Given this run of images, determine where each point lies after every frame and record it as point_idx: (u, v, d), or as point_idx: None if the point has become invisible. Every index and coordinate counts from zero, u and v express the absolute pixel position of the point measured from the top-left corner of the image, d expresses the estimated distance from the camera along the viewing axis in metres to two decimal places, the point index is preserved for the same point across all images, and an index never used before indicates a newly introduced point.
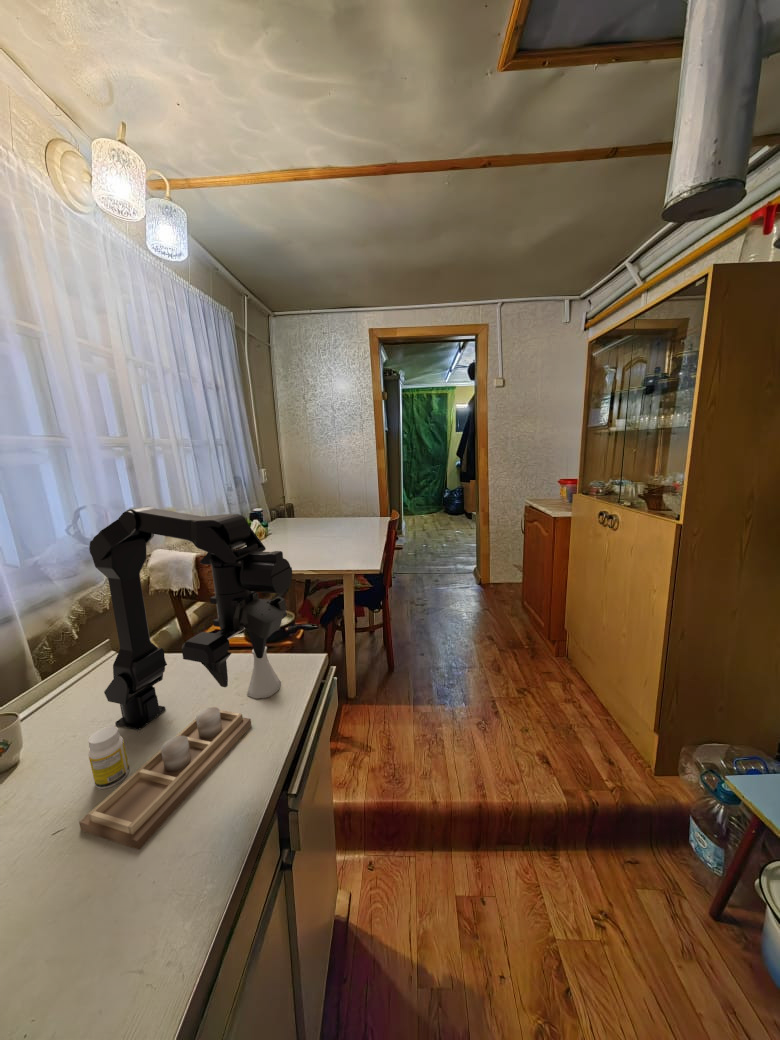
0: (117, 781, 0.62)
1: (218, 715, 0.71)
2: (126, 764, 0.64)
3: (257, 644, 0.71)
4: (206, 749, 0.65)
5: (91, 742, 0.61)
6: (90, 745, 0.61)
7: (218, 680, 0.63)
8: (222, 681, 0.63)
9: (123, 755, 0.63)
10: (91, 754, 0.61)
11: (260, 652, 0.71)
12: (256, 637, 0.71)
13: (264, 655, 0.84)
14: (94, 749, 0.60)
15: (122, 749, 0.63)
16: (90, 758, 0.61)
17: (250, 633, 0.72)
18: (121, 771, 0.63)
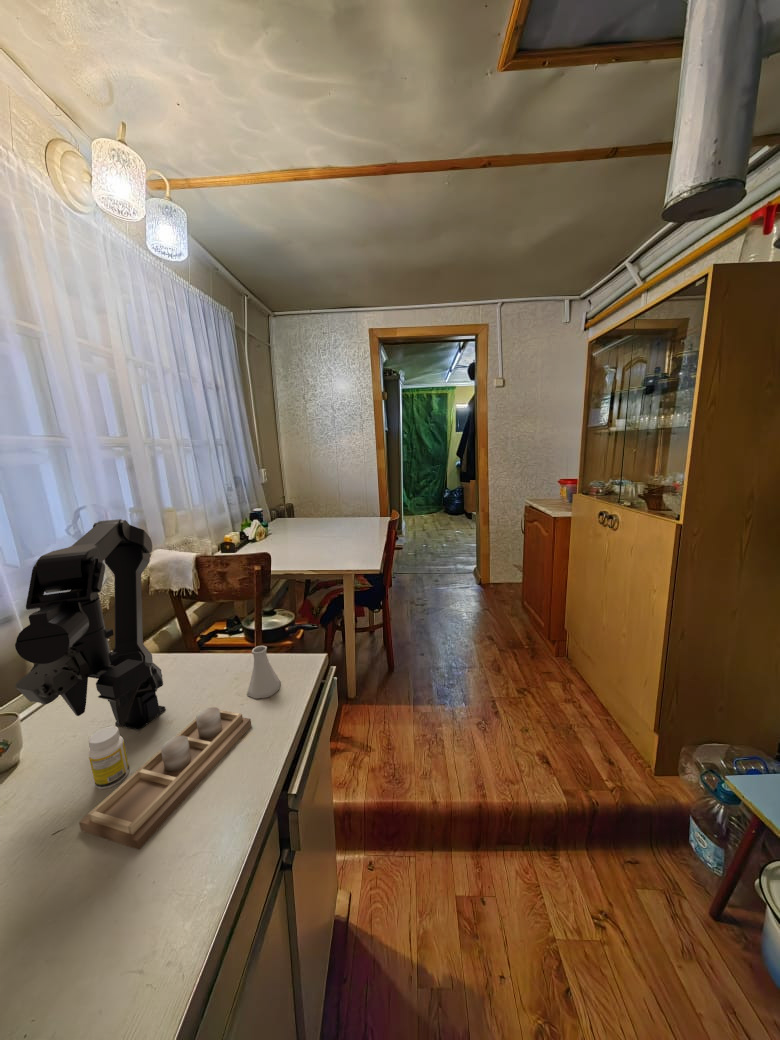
0: (117, 781, 0.62)
1: (218, 715, 0.71)
2: (126, 764, 0.64)
3: None
4: (206, 749, 0.65)
5: (91, 742, 0.61)
6: (90, 745, 0.61)
7: None
8: None
9: (123, 755, 0.63)
10: (91, 754, 0.61)
11: None
12: None
13: (264, 655, 0.84)
14: (94, 749, 0.60)
15: (122, 749, 0.63)
16: (90, 758, 0.61)
17: None
18: (121, 771, 0.63)
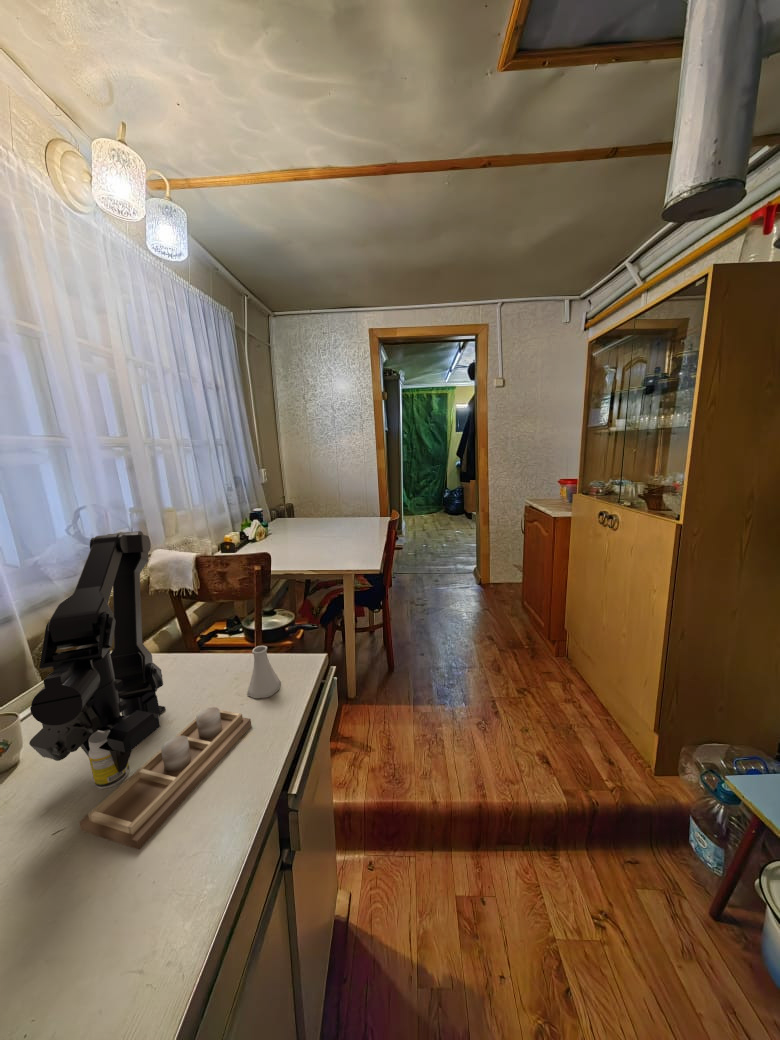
0: (117, 781, 0.62)
1: (218, 715, 0.71)
2: None
3: None
4: (206, 749, 0.65)
5: (91, 742, 0.61)
6: (90, 745, 0.61)
7: None
8: None
9: None
10: (91, 754, 0.61)
11: None
12: None
13: (264, 655, 0.84)
14: (94, 749, 0.60)
15: None
16: (90, 758, 0.61)
17: None
18: None
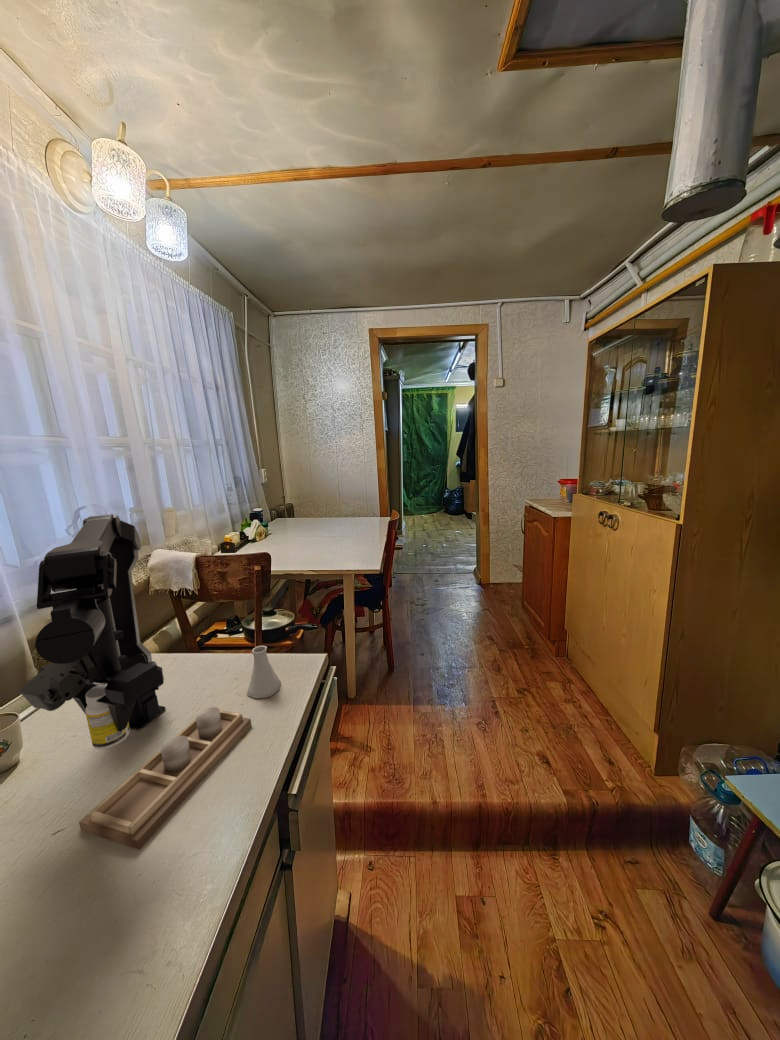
0: (116, 741, 0.57)
1: (218, 715, 0.71)
2: None
3: None
4: (206, 749, 0.65)
5: (88, 697, 0.55)
6: (87, 700, 0.55)
7: None
8: None
9: None
10: (88, 710, 0.55)
11: None
12: None
13: (264, 655, 0.84)
14: (92, 704, 0.55)
15: None
16: (87, 714, 0.55)
17: None
18: None
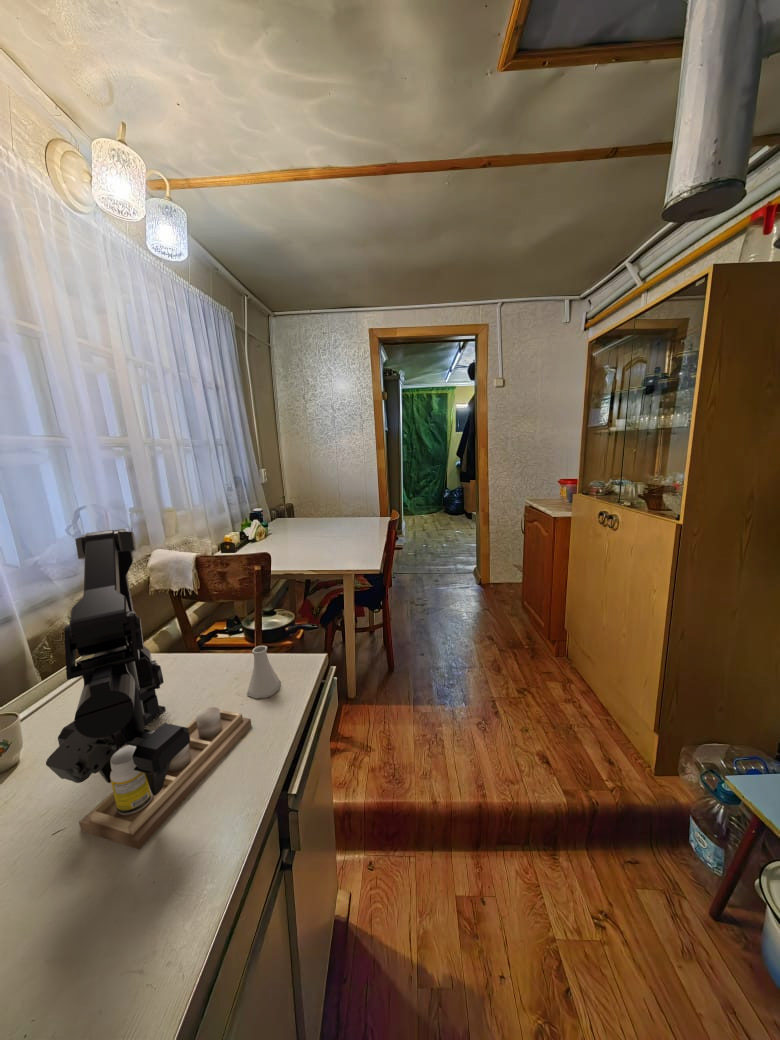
0: (142, 806, 0.56)
1: (218, 715, 0.71)
2: None
3: None
4: (206, 749, 0.65)
5: (113, 763, 0.54)
6: (112, 767, 0.54)
7: None
8: None
9: None
10: (113, 777, 0.54)
11: None
12: None
13: (264, 655, 0.84)
14: (117, 771, 0.54)
15: None
16: (112, 781, 0.54)
17: None
18: (146, 795, 0.56)
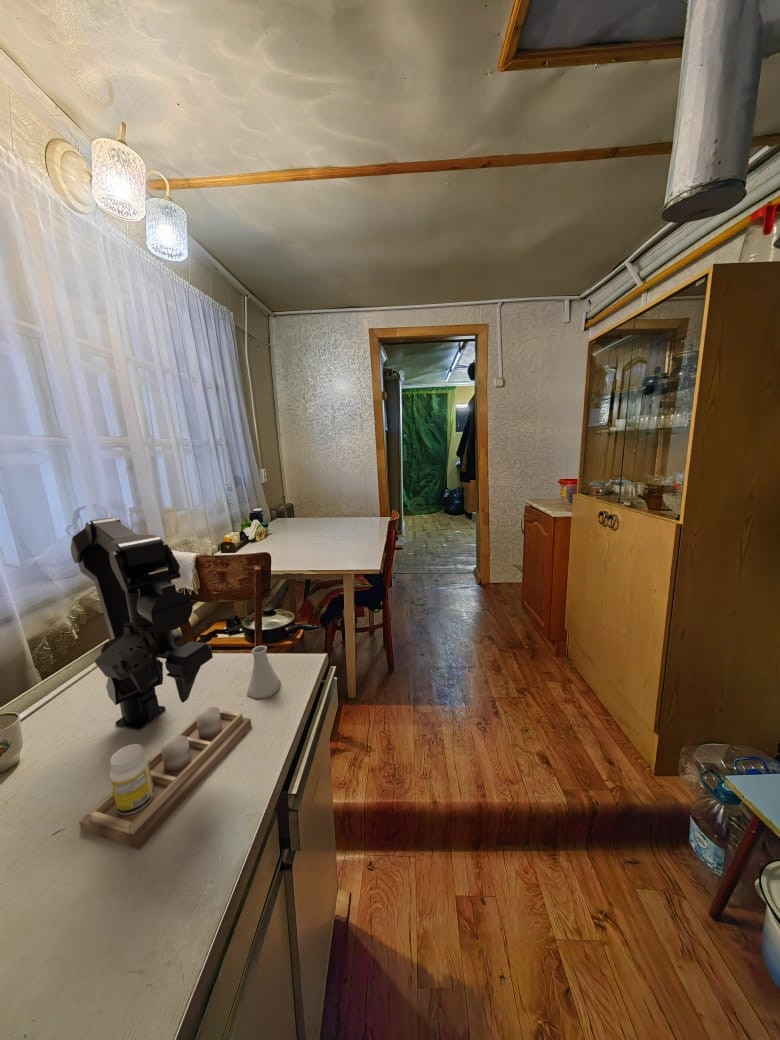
0: (142, 806, 0.56)
1: (218, 715, 0.71)
2: (151, 787, 0.57)
3: None
4: (206, 749, 0.65)
5: (113, 763, 0.54)
6: (112, 767, 0.54)
7: None
8: None
9: (148, 777, 0.57)
10: (113, 777, 0.54)
11: None
12: None
13: (264, 655, 0.84)
14: (117, 771, 0.54)
15: (147, 770, 0.57)
16: (112, 781, 0.54)
17: None
18: (146, 795, 0.56)
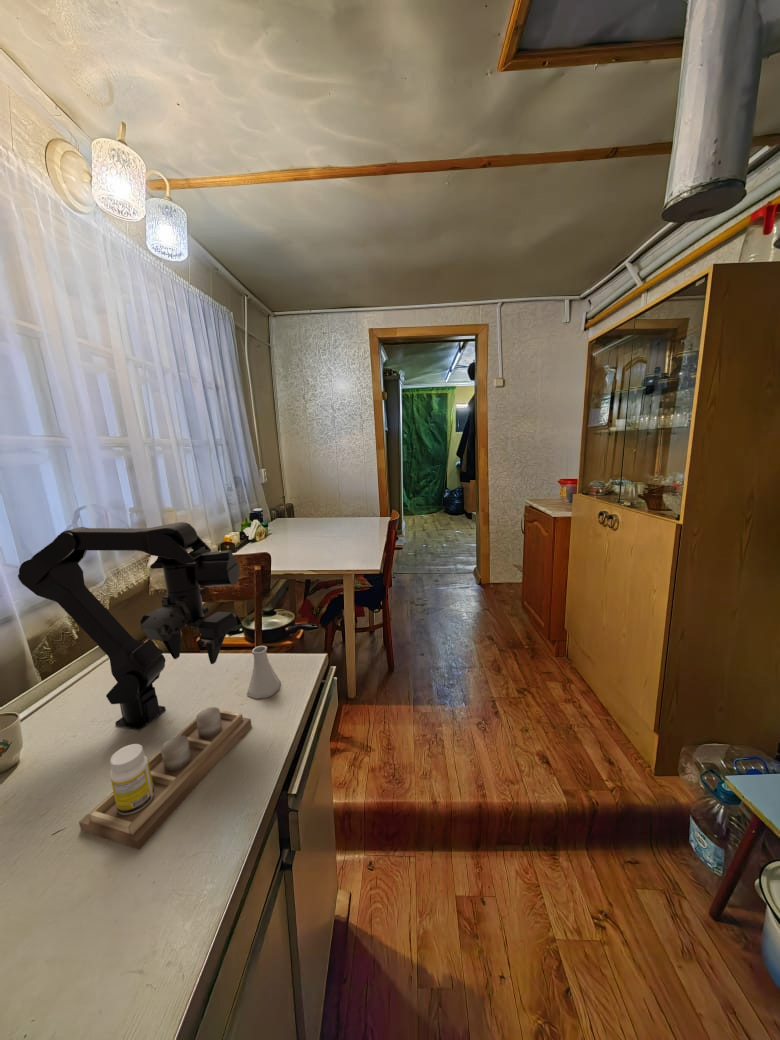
0: (142, 806, 0.56)
1: (218, 715, 0.71)
2: (151, 787, 0.57)
3: None
4: (206, 749, 0.65)
5: (113, 763, 0.54)
6: (112, 766, 0.54)
7: None
8: None
9: (148, 777, 0.57)
10: (113, 777, 0.54)
11: None
12: None
13: (264, 655, 0.84)
14: (117, 771, 0.54)
15: (147, 770, 0.57)
16: (112, 781, 0.54)
17: None
18: (146, 795, 0.56)
